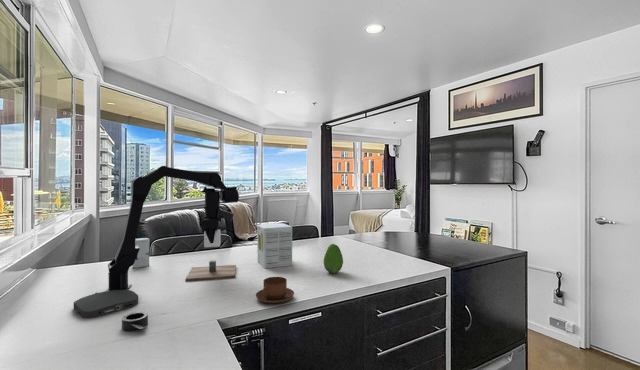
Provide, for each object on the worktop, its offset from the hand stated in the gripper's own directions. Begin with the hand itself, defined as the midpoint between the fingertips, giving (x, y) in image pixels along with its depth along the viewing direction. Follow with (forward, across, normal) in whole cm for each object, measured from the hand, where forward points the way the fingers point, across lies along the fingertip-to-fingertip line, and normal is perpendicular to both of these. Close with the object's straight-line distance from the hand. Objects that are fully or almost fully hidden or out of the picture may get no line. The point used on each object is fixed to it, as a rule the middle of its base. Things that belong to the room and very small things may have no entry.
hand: (212, 241), depth 127 cm
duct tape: (+14, -44, +15) cm, 49 cm away
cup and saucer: (+13, -34, -22) cm, 42 cm away
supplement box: (+13, +10, -26) cm, 31 cm away
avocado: (+13, -11, -48) cm, 51 cm away
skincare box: (+13, +20, +32) cm, 40 cm away
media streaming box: (+14, -27, +28) cm, 41 cm away
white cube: (+2, 0, 0) cm, 2 cm away
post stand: (+13, 0, 0) cm, 13 cm away
